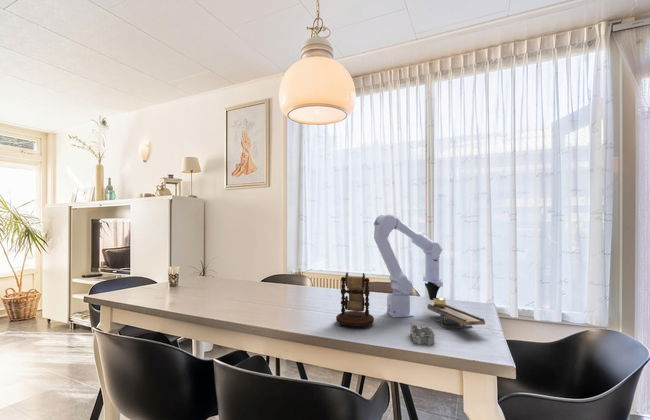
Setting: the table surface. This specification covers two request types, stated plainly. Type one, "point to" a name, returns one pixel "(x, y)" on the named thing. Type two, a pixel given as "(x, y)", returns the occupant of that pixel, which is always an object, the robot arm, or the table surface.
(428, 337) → the egg carton
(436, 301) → the brass weight
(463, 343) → the table surface
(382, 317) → the table surface
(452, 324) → the pivot bracket
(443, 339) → the table surface
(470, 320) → the beam
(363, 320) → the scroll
